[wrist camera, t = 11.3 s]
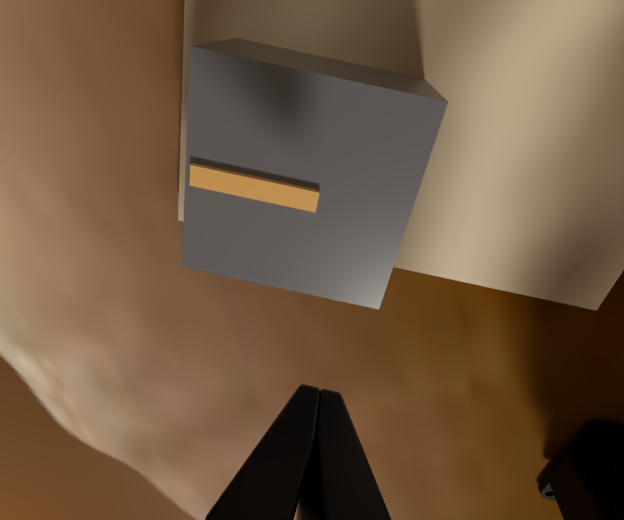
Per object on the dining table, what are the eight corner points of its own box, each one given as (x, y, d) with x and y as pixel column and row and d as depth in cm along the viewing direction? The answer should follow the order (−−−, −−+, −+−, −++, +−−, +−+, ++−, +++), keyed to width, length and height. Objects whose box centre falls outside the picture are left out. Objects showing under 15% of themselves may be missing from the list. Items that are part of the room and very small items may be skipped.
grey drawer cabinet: (424, 78, 14) (450, 103, 10) (374, 244, 17) (379, 313, 13) (236, 37, 14) (186, 46, 10) (222, 211, 17) (179, 270, 13)
